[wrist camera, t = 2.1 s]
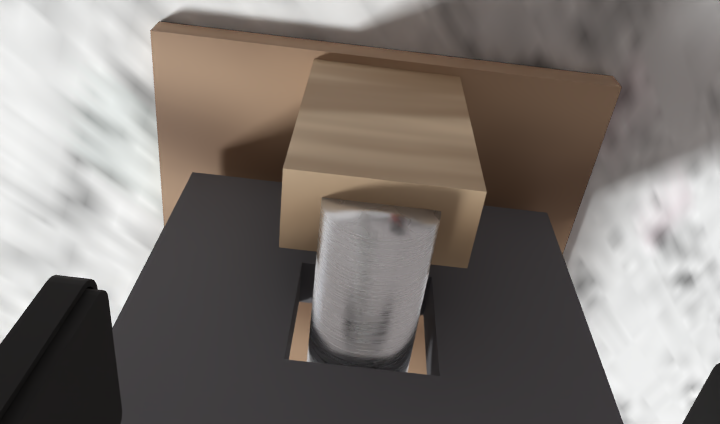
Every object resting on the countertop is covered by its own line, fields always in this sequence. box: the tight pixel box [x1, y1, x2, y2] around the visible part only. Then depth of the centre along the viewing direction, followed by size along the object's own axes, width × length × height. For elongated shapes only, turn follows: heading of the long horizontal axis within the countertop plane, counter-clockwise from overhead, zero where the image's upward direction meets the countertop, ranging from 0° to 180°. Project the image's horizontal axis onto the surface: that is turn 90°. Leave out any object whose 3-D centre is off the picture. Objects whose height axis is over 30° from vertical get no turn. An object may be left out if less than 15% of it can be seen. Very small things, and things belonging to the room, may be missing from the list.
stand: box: [151, 21, 622, 375], centre depth 25 cm, size 22×16×8 cm
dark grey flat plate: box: [112, 172, 623, 424], centre depth 19 cm, size 2×13×13 cm, turn 84°
